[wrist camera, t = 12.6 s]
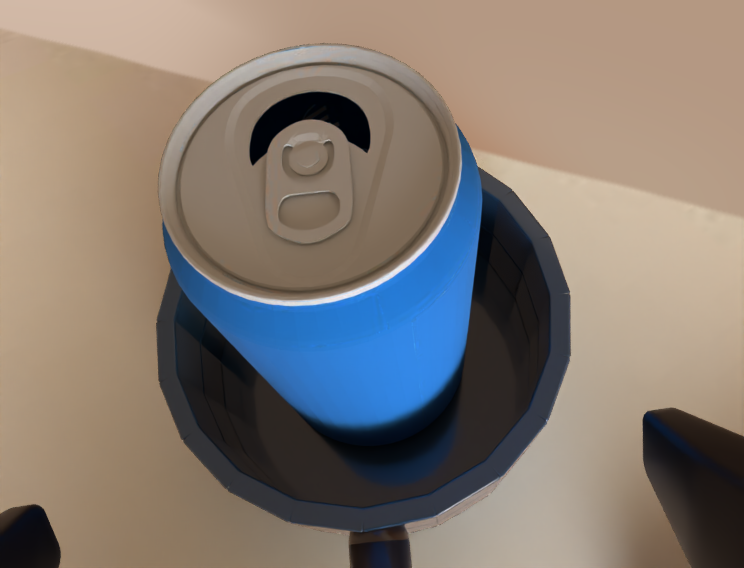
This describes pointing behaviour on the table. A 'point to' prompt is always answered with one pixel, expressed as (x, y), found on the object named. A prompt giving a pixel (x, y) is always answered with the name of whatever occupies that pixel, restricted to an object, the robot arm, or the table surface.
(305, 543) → the table surface
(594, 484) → the table surface
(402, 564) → the pot handle
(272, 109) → the beverage can
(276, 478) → the pot
